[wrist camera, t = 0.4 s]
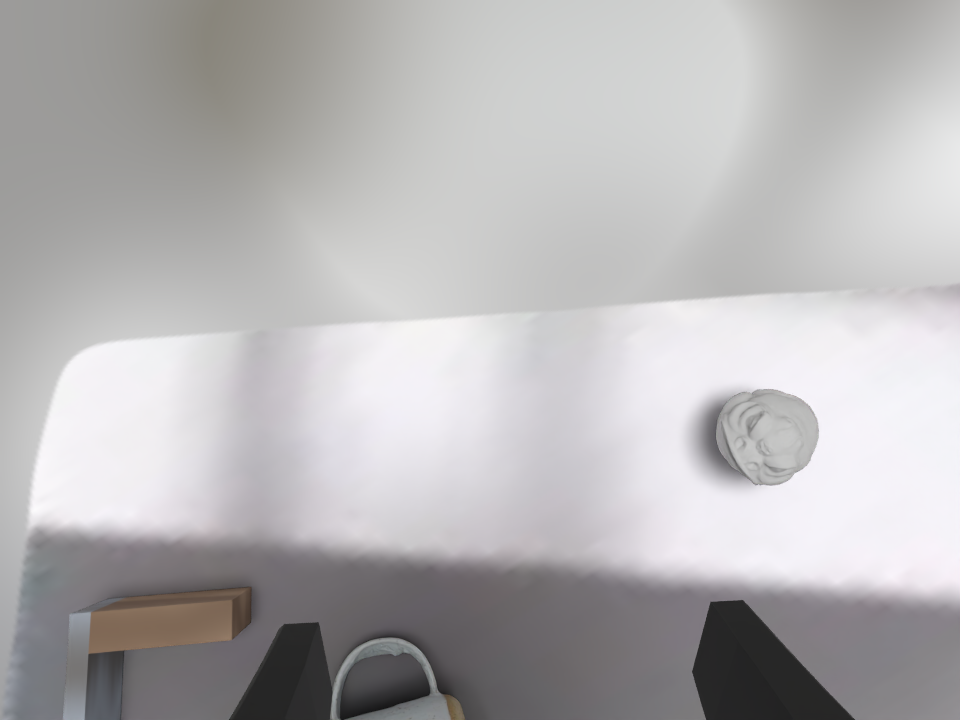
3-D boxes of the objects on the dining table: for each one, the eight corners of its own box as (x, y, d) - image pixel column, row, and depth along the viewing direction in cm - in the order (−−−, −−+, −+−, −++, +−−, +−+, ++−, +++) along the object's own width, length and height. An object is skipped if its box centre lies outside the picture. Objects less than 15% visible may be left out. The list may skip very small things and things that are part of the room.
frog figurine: (670, 422, 41) (723, 411, 34) (751, 379, 42) (818, 360, 35) (713, 503, 40) (776, 508, 33) (794, 457, 41) (871, 453, 35)
